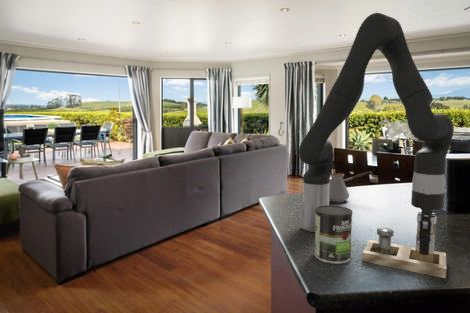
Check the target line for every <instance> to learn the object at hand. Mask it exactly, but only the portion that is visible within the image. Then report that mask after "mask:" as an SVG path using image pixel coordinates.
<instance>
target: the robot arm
mask: <svg viewBox="0 0 470 313" xmlns="http://www.w3.org/2000/svg"><path fill="white" fill-rule="evenodd" d="M401 25H402V24H400V22H399V21H398V19H396V18H394V17H392V16H389V15H387V14H383V13H381V12H374V13H371V14H370V15H368V16H366V18H364V19H363V21H362V22H361V24H360V26H359V28H358V30H357V33H356V35H355V38H354V40H353V43H352V44H351V47H350V50H349V52H348V55H347V57H346V59H345V62H344V64H343V66H342V68H341V70H340V72H339V74H338V76H337V77H336V80H335V82H334V84H332V85H333V86H332V87H331V89H330V91H329V93H328V95H327V97H326V99H325V101H324V104H323V106H322V107H321V109H320V111H319V113H318V114H317V117H316V119H315V121H314V122H313V124H312V125H311V127H310V128H309V130H308V132H307V133H306V135H304V136H305V137H304V138H303V140H302V141H301V142H300V145H299V148H298V156H299V159H300V160H301V161H300V162H302V163H303V164H305V165H309V168H308V169H307V170H306V171H305V173H304V174H303V177H302V202H301V203H300V229H301V230H304V231H307V232H311V233H315V224H316V212H315V209H316V208H317V207H319V206H326V205H330V201H329V183H330V181H331V174H332V173H333V164H334V148H333V145H332V142H331V141H330V140H329V138H330V136H331V135H332V133H333V132H334V131H336V130H337V128H338V127H339V126H340V125H341V124H342V123H343V122H345V120H346V119H347V118H348V117H349V116H350V115H351V114H352V112H353V111H354V109H355V108H356V106H357V104H358V103H359V102H360V100H361V97H362V95H363V91H364V85H365V77H366V71H367V67H368V65H369V63H370V61H371V59H372V57H373V56H374V54H375V52H376V51H377V50H378V51H380V53H381V54H382V56H384V57H385V59H386V61H387V62H388V64H389V67H390V70H391V77H392V83H393V88H394V89H395V92H396V94H397V96H398V97H399V100H400V102H401V104H402V105H403V107H404V110H405V116H406V122H407V125H408V128H409V131H410V132H411V133H410V134H412V135H413V137H414V138H416V140H419V141H421V142H423V144H422V147H421V149H419V150H418V151H416V152H415V155H414V166H413V167H414V168H413V176H412V180H411V181H412V183H411V203H410V204H411V206H412V207H414V208H417V209H420V210H421V211H418V213H421V214H418V213H417V214H418V222H417V223H418V231H419V240H420V246H419V253H420V254H423V255H428V254H429V242H430V241H431V239H430V234H431V233H432V232H433V223H434V222H435V216H436V213H434V211H440V210H443V209H444V207H445V194H446V193H445V192H446V178H445V176H446V163H447V162H446V159H447V158H446V157H447V155H448V152H449V149H450V146H451V144H452V143H451V142H452V139H453V135H454V124H453V122H452V119H451V118H450V117H449V116H448V115H447V114H444V113H433V111H432V108H431V106H430V105H431V104H432V103H433V96H432V92H431V91H430V89H429V88H428V85H427V84H426V82H425V80H424V78H423V77H422V75H421V74H420V71H419V70H418V67H417V65H416V63H415V61H414V59H413V57H412V53H411V51H410V48H409V46H408V43H407V40H406V37H405V33H404V30H403V28H402V26H401ZM432 215H435V216H432ZM431 218H432V220H431ZM422 234H427V235H428V237H425V236H422Z"/></svg>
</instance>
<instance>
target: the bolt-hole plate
mask: <svg viewBox="0 0 470 313" xmlns="http://www.w3.org/2000/svg"><path fill="white" fill-rule="evenodd" d="M378 247H379V240H378V241H377V240H374V239H373V240H372V239H369V240H368V242H367V243H366V245H365V247H364V249H363V251H362V253H361V254H362V255H361V261H362V262H366V263H371V264H375V265H380V266H383V267H389V268H393V269H399V270H404V271H408V272H414V273H417V274H423V275H427V276H432V277H437V278H442V279H446V278H447V254H446V253H447V252H443V251H442V252H441V251H436V250H434V253H433V263H429V262H424V261H418V260H415V252H416V247H413V246H409V245H408V246H406V245H402V244H396V243H391V253H390V255H387V254H382V253H378Z"/></svg>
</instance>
